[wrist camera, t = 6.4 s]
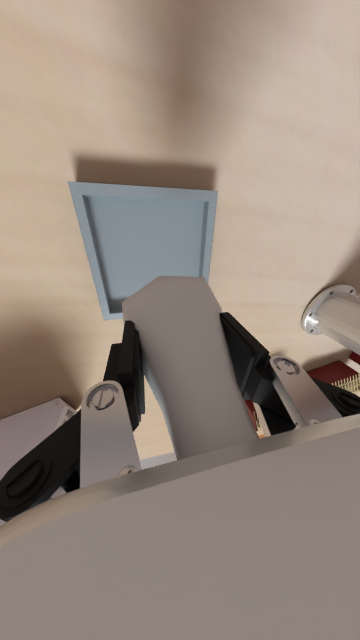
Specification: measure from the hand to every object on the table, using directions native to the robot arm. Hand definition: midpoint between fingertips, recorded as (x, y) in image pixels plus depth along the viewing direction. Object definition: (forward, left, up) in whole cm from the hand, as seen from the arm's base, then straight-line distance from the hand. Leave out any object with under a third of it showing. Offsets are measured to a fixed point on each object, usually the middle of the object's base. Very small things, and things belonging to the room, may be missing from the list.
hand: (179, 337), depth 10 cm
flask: (0, 0, -2) cm, 2 cm away
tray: (0, -2, -17) cm, 17 cm away
